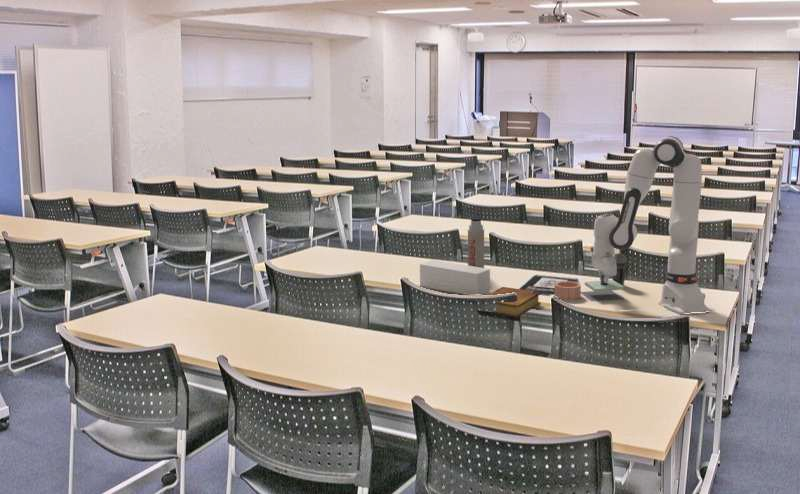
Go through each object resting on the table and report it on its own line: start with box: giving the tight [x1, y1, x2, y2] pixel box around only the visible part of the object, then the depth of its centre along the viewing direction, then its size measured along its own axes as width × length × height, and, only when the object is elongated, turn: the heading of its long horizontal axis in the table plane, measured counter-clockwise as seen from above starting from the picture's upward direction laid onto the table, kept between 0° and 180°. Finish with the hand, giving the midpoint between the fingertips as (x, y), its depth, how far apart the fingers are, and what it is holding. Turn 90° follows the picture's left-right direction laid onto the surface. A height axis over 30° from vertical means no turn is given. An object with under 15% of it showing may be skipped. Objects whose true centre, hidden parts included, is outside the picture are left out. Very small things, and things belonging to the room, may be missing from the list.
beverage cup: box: [612, 250, 629, 287], centre depth 377 cm, size 7×7×20 cm
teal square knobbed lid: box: [584, 275, 625, 292], centre depth 360 cm, size 13×13×5 cm
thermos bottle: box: [467, 217, 485, 268], centre depth 403 cm, size 8×8×28 cm
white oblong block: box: [419, 259, 491, 295], centre depth 379 cm, size 32×11×11 cm, turn 52°
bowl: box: [553, 281, 582, 301], centre depth 362 cm, size 11×11×6 cm
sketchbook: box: [518, 274, 580, 297], centre depth 381 cm, size 22×30×2 cm
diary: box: [487, 286, 541, 318], centre depth 349 cm, size 23×19×6 cm
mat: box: [581, 290, 625, 302], centre depth 362 cm, size 15×15×1 cm
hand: (604, 281), depth 360 cm, fingers closed on teal square knobbed lid, 3 cm apart
